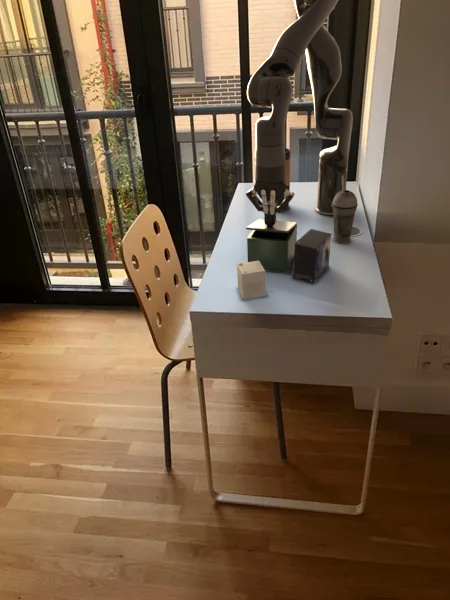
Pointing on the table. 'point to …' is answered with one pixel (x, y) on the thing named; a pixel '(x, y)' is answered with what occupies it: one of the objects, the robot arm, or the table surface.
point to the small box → (311, 255)
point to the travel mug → (286, 177)
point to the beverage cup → (344, 214)
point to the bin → (272, 249)
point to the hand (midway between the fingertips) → (270, 225)
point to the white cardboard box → (251, 280)
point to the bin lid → (278, 227)
